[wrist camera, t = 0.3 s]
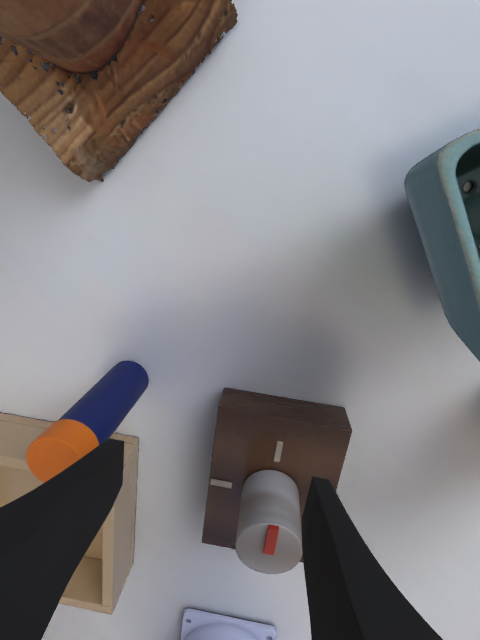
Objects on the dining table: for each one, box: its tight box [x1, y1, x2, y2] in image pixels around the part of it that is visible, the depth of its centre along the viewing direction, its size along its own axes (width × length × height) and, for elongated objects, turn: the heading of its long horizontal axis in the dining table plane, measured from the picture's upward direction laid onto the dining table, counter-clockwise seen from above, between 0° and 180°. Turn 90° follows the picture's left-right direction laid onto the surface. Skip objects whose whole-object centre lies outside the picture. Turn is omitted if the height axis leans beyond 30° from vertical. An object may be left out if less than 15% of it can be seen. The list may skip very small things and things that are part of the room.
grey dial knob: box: [235, 470, 302, 574], centre depth 20 cm, size 4×4×4 cm
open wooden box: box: [0, 413, 139, 614], centre depth 26 cm, size 13×14×4 cm
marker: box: [26, 361, 148, 483], centre depth 20 cm, size 3×3×8 cm
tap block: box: [202, 388, 352, 563], centre depth 24 cm, size 11×8×3 cm
